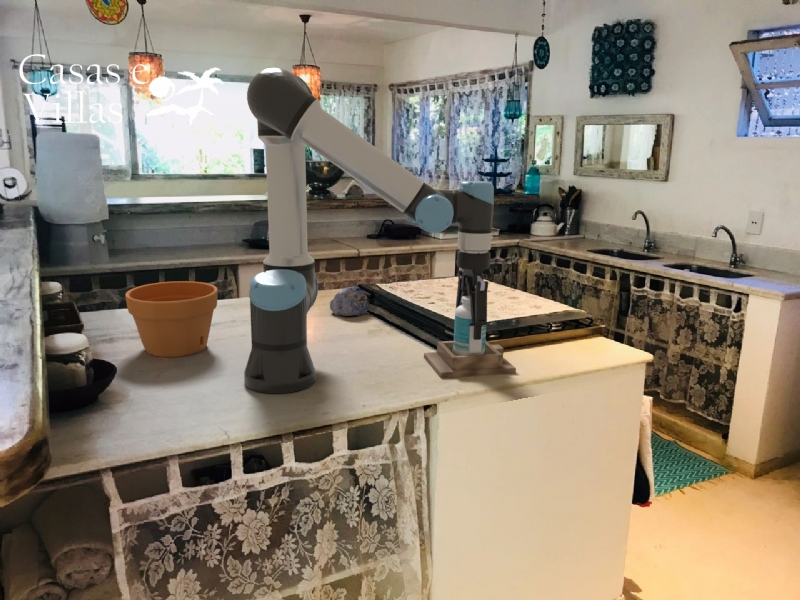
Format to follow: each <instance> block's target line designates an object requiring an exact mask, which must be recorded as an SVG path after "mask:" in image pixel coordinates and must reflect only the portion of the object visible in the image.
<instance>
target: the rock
mask: <svg viewBox="0 0 800 600" xmlns="http://www.w3.org/2000/svg"><path fill="white" fill-rule="evenodd" d="M369 305H370V301H369V297H368V295H367V293H366V291H365V290H362V288H361V287H360V286H358V285H357V286H356V285H355V286H350V287H344V288H342V290H339V292H337V293H335V295H334V297H333V298H332V299H331V300H330V302H329V310H330V311H331V312H332V313H333V314H334V315H336V316H344V317H346V316H347V317H351V316H361V315H362V316H363V315H364V314H366V313H367V312H368V310H369V309H370V307H369Z"/></svg>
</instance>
